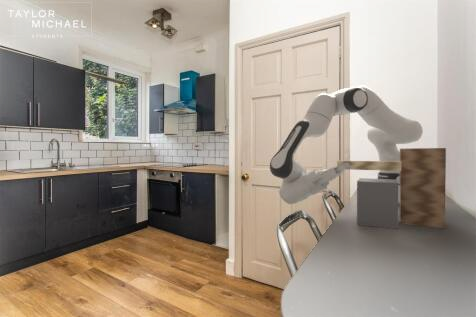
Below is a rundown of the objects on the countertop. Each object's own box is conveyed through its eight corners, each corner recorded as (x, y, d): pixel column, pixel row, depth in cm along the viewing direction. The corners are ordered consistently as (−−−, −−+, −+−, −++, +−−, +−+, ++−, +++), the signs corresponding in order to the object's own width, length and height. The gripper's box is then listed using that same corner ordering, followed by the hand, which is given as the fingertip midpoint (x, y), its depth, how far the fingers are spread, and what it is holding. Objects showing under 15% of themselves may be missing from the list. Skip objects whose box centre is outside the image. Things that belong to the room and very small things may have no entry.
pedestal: (400, 223, 87) (401, 148, 86) (399, 216, 95) (399, 148, 94) (444, 228, 81) (445, 148, 80) (439, 220, 89) (440, 148, 88)
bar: (337, 169, 93) (337, 161, 92) (338, 168, 95) (338, 160, 95) (401, 170, 82) (401, 161, 82) (400, 170, 85) (400, 161, 85)
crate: (357, 224, 87) (357, 181, 86) (359, 217, 95) (359, 178, 95) (398, 229, 81) (398, 183, 80) (396, 221, 89) (397, 179, 89)
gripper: (305, 176, 90) (341, 157, 83) (318, 171, 107) (349, 155, 101) (314, 192, 88) (351, 173, 82) (326, 184, 106) (357, 169, 99)
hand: (350, 163), depth 92 cm, fingers closed on bar, 3 cm apart
